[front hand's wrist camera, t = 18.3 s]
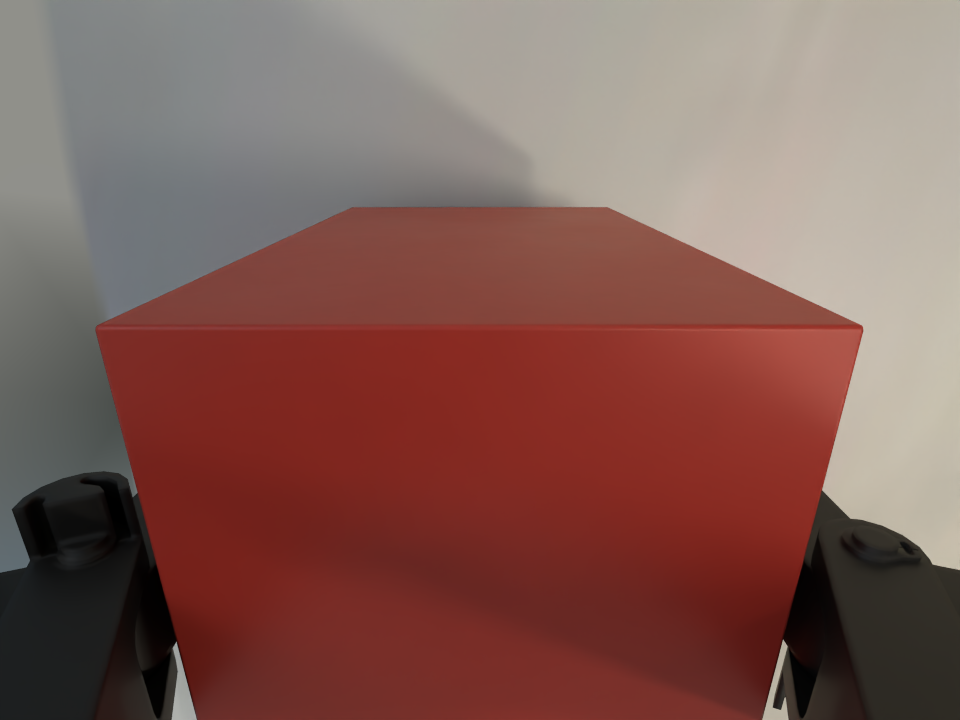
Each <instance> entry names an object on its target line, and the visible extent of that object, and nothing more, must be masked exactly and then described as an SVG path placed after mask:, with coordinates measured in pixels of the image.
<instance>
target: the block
mask: <svg viewBox="0 0 960 720" xmlns="http://www.w3.org/2000/svg"><path fill="white" fill-rule="evenodd" d="M96 334H97V338H98V342H99V346H100V350H101V354H102V357H103V361H104V365H105V369H106V373H107V376H108V380H109V384H110V388H111V392H112V396H113V400H114V403H115V407H116V411H117V415H118V419H119V423H120V426H121V430H122V434H123V438H124V442H125V446H126V449H127V453H128V457H129V461H130V465H131V469H132V472H133V476H134V480H135V484H136V488H137V492H138V495H139V499H140V503H141V507H142V511H143V515H144V518H145V522H146V526H147V530H148V534H149V538H150V541H151V545H152V549H153V553H154V557H155V561H156V564H157V568H158V572H159V576H160V580H161V584H162V587H163V591H164V595H165V599H166V603H167V607H168V610H169V614H170V618H171V622H172V626H173V630H174V633H175V637H176V641H177V645H178V649H179V653H180V656H181V660H182V664H183V668H184V672H185V676H186V679H187V683H188V687H189V691H190V695H191V699H192V702H193V706H194V710H195V714H196V718H197V720H762V718H763V714H764V710H765V707H766V703H767V699H768V695H769V691H770V687H771V683H772V680H773V676H774V672H775V668H776V664H777V660H778V657H779V653H780V649H781V645H782V641H783V637H784V634H785V630H786V626H787V622H788V618H789V614H790V610H791V607H792V603H793V599H794V595H795V591H796V587H797V584H798V580H799V576H800V572H801V568H802V564H803V560H804V557H805V553H806V549H807V545H808V541H809V537H810V534H811V530H812V526H813V522H814V518H815V514H816V510H817V507H818V503H819V499H820V495H821V491H822V487H823V484H824V480H825V476H826V472H827V468H828V464H829V461H830V457H831V453H832V449H833V445H834V441H835V437H836V434H837V430H838V426H839V422H840V418H841V414H842V411H843V407H844V403H845V399H846V395H847V391H848V387H849V384H850V380H851V376H852V372H853V368H854V364H855V361H856V357H857V353H858V349H859V345H860V341H861V337H862V334H863V327H862V325H860V324H857V323H855V322H853V321H851V320H849V319H847V318H844V317H842V316H840V315H838V314H836V313H834V312H832V311H829V310H827V309H825V308H823V307H821V306H819V305H817V304H814V303H812V302H810V301H808V300H806V299H804V298H801V297H799V296H797V295H795V294H793V293H791V292H789V291H786V290H784V289H782V288H780V287H778V286H776V285H773V284H771V283H769V282H767V281H765V280H763V279H761V278H758V277H756V276H754V275H752V274H750V273H748V272H745V271H743V270H741V269H739V268H737V267H735V266H733V265H730V264H728V263H726V262H724V261H722V260H720V259H718V258H715V257H713V256H711V255H709V254H707V253H705V252H702V251H700V250H698V249H696V248H694V247H692V246H690V245H687V244H685V243H683V242H681V241H679V240H677V239H674V238H672V237H670V236H668V235H666V234H664V233H662V232H659V231H657V230H655V229H653V228H651V227H649V226H646V225H644V224H642V223H640V222H638V221H636V220H634V219H631V218H629V217H627V216H625V215H623V214H621V213H619V212H616V211H614V210H612V209H610V208H608V207H352V208H350V209H347V210H345V211H343V212H341V213H339V214H337V215H335V216H332V217H330V218H328V219H326V220H324V221H322V222H319V223H317V224H315V225H313V226H311V227H309V228H306V229H304V230H302V231H300V232H298V233H296V234H294V235H291V236H289V237H287V238H285V239H283V240H281V241H278V242H276V243H274V244H272V245H270V246H268V247H265V248H263V249H261V250H259V251H257V252H255V253H253V254H250V255H248V256H246V257H244V258H242V259H240V260H237V261H235V262H233V263H231V264H229V265H227V266H224V267H222V268H220V269H218V270H216V271H214V272H212V273H209V274H207V275H205V276H203V277H201V278H199V279H196V280H194V281H192V282H190V283H188V284H186V285H183V286H181V287H179V288H177V289H175V290H173V291H171V292H168V293H166V294H164V295H162V296H160V297H158V298H155V299H153V300H151V301H149V302H147V303H145V304H142V305H140V306H138V307H136V308H134V309H132V310H129V311H127V312H125V313H123V314H121V315H119V316H117V317H114V318H112V319H110V320H108V321H106V322H104V323H101V324H99V325H97V326H96Z"/></svg>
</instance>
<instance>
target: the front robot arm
mask: <svg viewBox="0 0 960 720" xmlns="http://www.w3.org/2000/svg"><path fill="white" fill-rule="evenodd" d="M12 511H13V514H14V517H15V519H16V522H17V525H18V528H19V531H20V533H21V536H22V539H23V542H24V544H25V547H26V550H27V553H28V555H29V558H30V562H29V564H28V566H27V567H26V568H22V569H17V570H12V571H7V572H2V573H0V720H171V719H172V712H173V703H174V696H175V688H176V680H177V672H178V671H177V665H176V659H175V655H174V651H173V646H174V645H175V643H176V637H175V633H174V630H173V626H172V622H171V618H170V614H169V610H168V607H167V603H166V599H165V595H164V591H163V587H162V584H161V580H160V576H159V572H158V568H157V564H156V561H155V557H154V553H153V549H152V545H151V541H150V538H149V534H148V530H147V526H146V522H145V518H144V515H143V511H142V507H141V503H140V499H139V495H138V493H137V494H136V495H135V496H134V497H132V493H131V490H130V486H129V482H128V479H127V478H125V477H124V476H122V475H121V474H119V473H112V472H104V471H103V472H93V473H83V474H79V475H75V476H71V477H67V478H63V479H60V480H58V481H55V482H53V483H50V484H48V485H45V486H43V487H41V488H39V489H37V490H36V491H34V492H32V493H31V494H29V495H27V496H26V497H24V498H23V499H22V500H21V501H20V502H19V503H18V504H17V505H16V506H15V507H14V508H13V509H12ZM783 639H784V641H785V643H786V644H787V646H788V648H787V651H786V655H785V659H784V663H783V666H782V670H781V674H780V678H779V681H778V685H777V689H776V693H775V697H774V703H773V708H776V709H779V710H781V708H782V704H783V701H784V698H785V697H786V702H787V710H788V718H789V720H960V570H956V569H951V568H946V567H941V566H936V565H932V563H931V561H930V559H929V558H928V557H927V556H926V554H925V553H924V552H923V551H922V550H921V548H920V547H918V546H917V545H916V544H914V543H913V542H911V541H910V540H909V539H907V538H906V537H904V536H903V535H901V534H899V533H897V532H894V531H892V530H890V529H888V528H886V527H884V526H881V525H877V524H874V523H870V522H867V521H863V520H857V519H850V518H849V517H848V516H847V515H846V514H845V513H844V512H843V511H842V510H841V509H840V508H839V507H838V506H837V505H836V504H835V503H834V502H833V501H832V500H831V499H830V498H829V497H828V496H827V495H826V494H825V493H824V492H823V491H821V495H820V499H819V503H818V507H817V510H816V514H815V518H814V522H813V526H812V530H811V534H810V537H809V541H808V545H807V549H806V553H805V557H804V560H803V564H802V568H801V572H800V576H799V580H798V584H797V587H796V591H795V595H794V599H793V603H792V607H791V610H790V614H789V618H788V622H787V626H786V630H785V634H784V637H783Z"/></svg>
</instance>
